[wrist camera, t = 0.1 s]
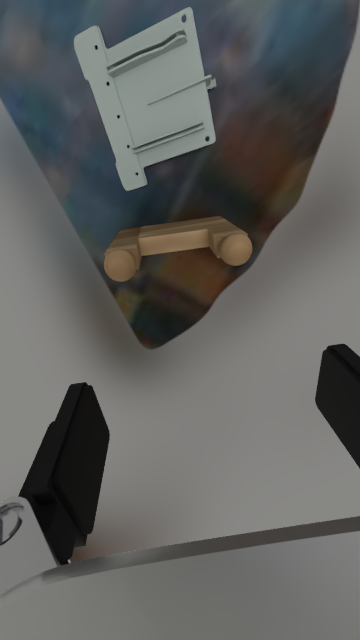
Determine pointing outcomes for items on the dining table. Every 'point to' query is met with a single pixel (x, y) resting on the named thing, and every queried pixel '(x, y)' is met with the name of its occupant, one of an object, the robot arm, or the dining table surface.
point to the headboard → (175, 243)
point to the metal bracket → (149, 93)
